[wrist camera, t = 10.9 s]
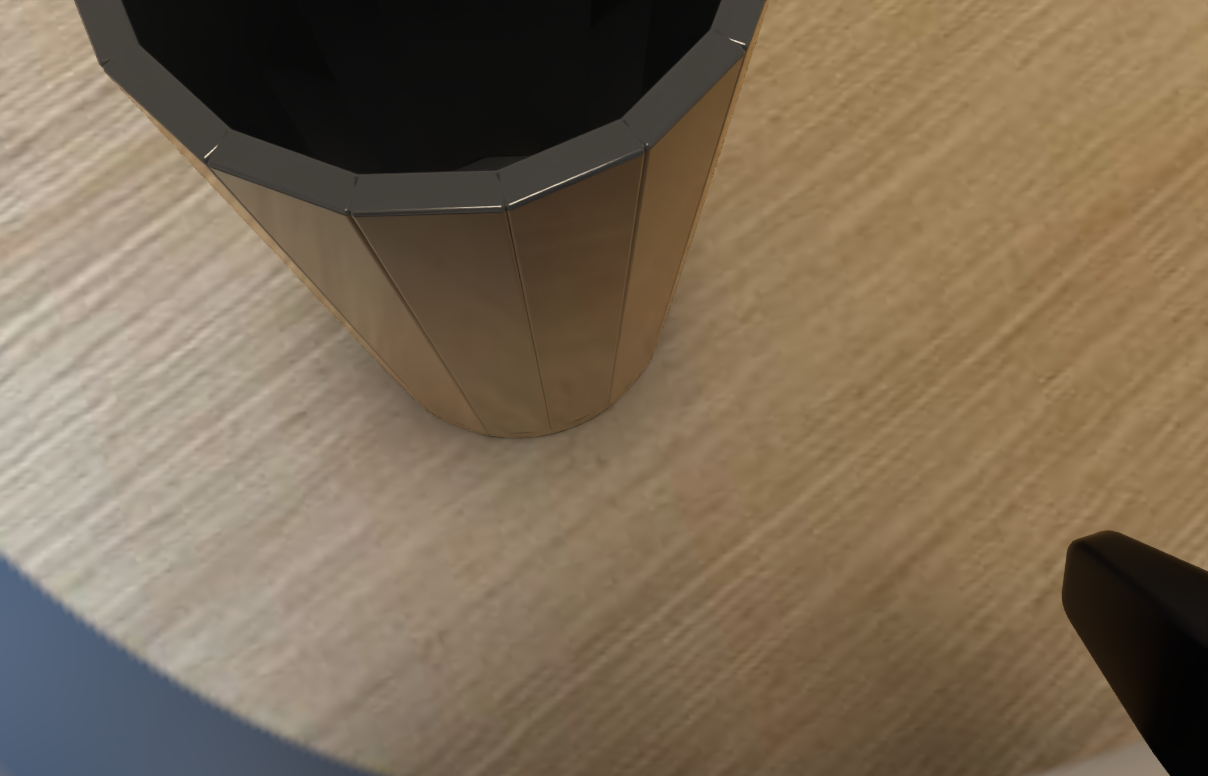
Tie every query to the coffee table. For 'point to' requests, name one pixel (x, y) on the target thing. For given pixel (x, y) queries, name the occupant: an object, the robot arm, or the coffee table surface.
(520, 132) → the pen cup
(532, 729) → the coffee table surface
